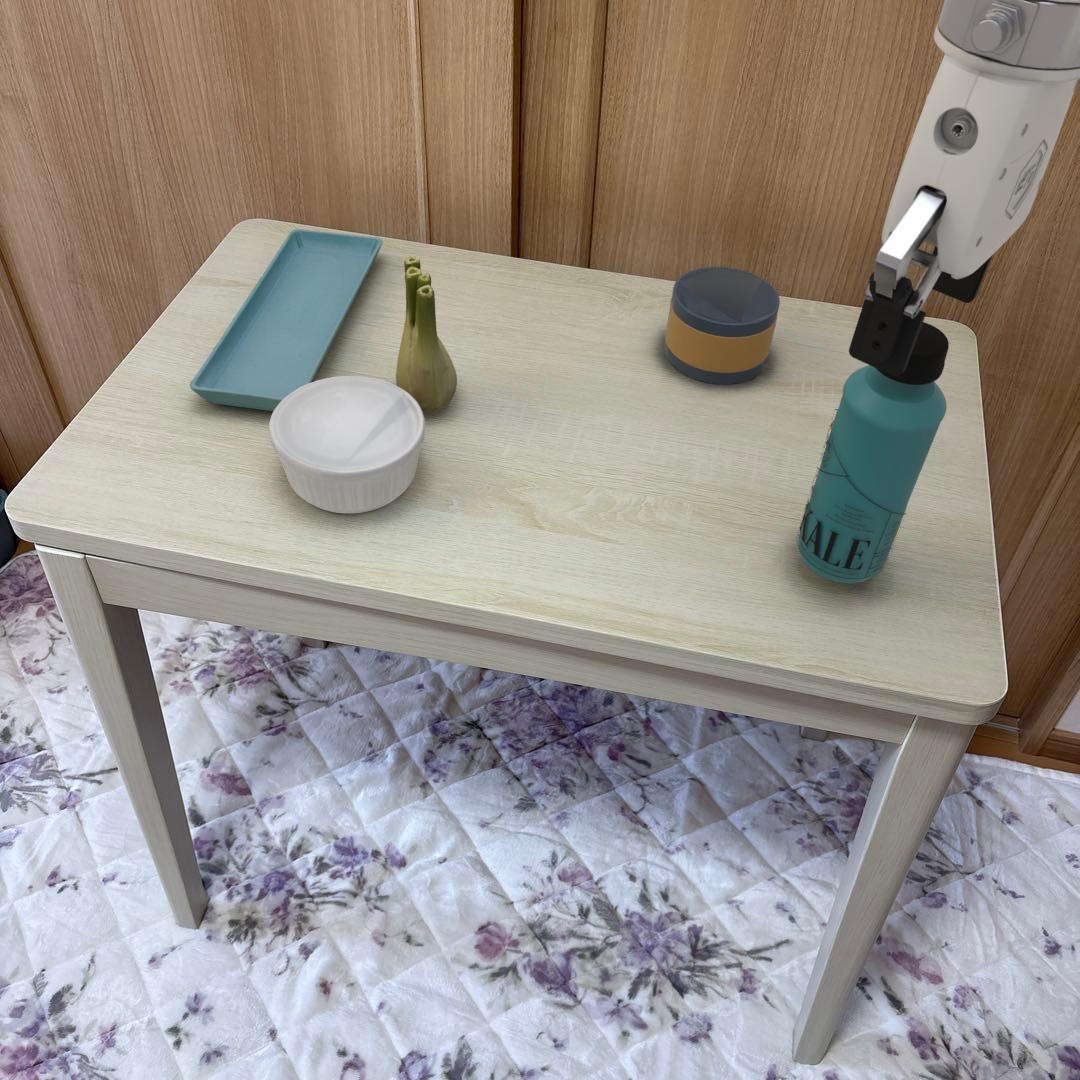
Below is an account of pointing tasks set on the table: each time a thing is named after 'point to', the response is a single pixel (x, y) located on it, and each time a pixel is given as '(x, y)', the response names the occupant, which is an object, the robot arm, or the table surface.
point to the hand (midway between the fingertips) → (913, 327)
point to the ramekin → (348, 442)
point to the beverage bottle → (873, 463)
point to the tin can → (721, 324)
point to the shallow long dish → (287, 320)
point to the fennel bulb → (423, 345)
